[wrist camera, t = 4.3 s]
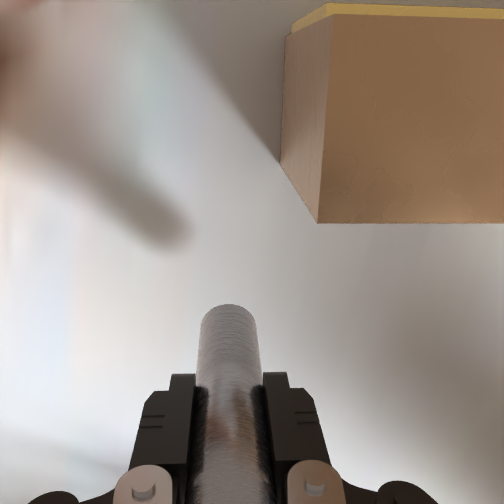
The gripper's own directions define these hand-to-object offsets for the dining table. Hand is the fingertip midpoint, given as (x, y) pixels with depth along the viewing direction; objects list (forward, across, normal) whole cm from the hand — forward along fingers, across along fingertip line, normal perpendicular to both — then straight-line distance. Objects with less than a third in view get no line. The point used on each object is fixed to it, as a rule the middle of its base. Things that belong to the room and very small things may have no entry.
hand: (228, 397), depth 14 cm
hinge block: (+8, -13, -8) cm, 17 cm away
